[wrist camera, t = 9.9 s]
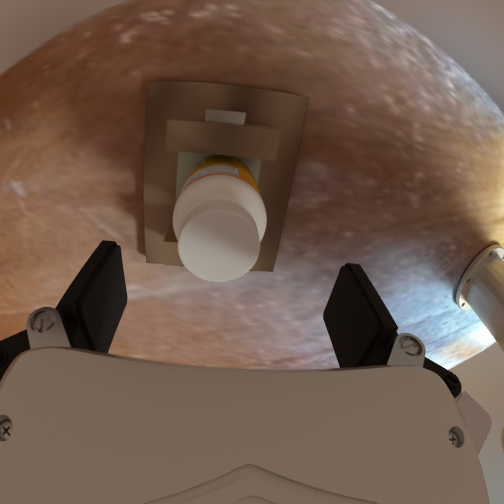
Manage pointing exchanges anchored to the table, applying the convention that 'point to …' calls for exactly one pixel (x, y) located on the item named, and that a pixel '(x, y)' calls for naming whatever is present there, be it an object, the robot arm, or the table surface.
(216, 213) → the supplement bottle
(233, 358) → the table surface
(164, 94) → the holder
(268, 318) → the table surface
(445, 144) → the table surface
